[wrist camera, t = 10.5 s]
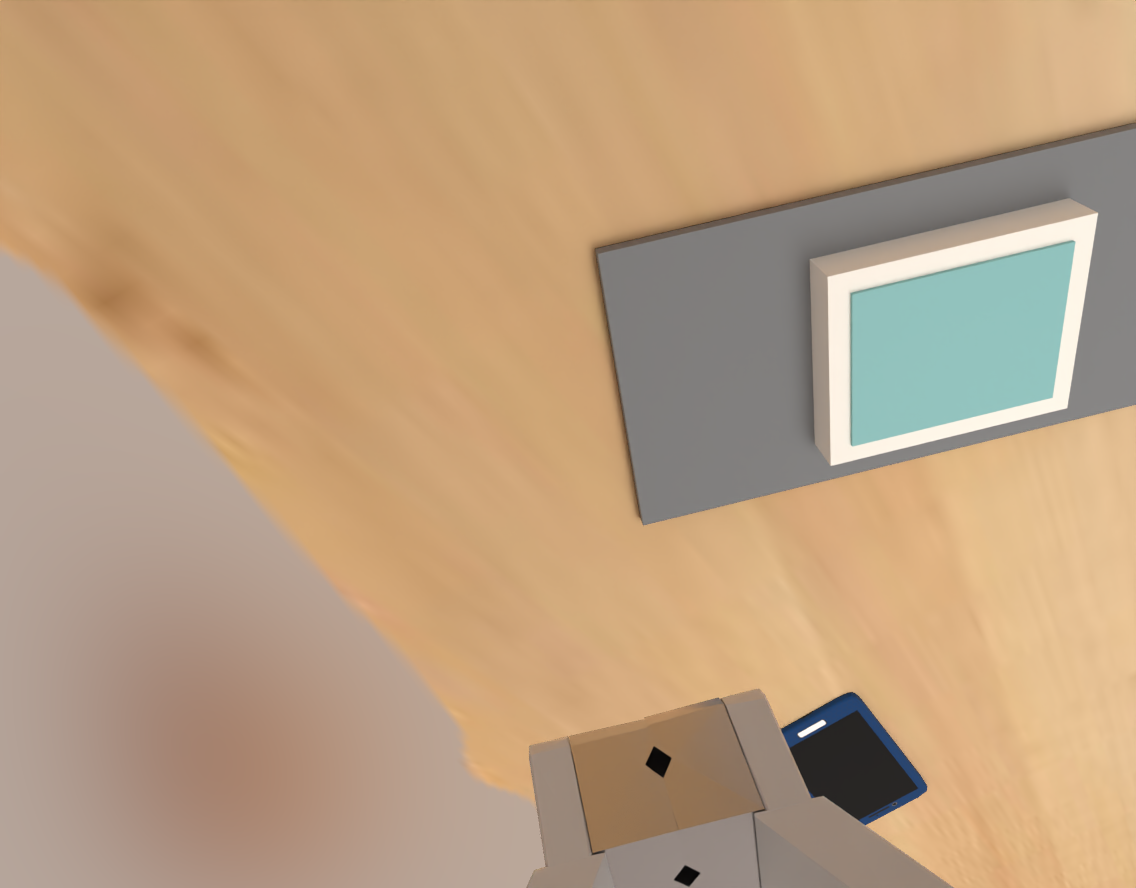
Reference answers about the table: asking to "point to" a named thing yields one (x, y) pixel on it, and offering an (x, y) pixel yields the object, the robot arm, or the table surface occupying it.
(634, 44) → the table surface
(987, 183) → the mat
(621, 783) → the robot arm
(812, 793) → the cell phone
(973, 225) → the white picture frame
